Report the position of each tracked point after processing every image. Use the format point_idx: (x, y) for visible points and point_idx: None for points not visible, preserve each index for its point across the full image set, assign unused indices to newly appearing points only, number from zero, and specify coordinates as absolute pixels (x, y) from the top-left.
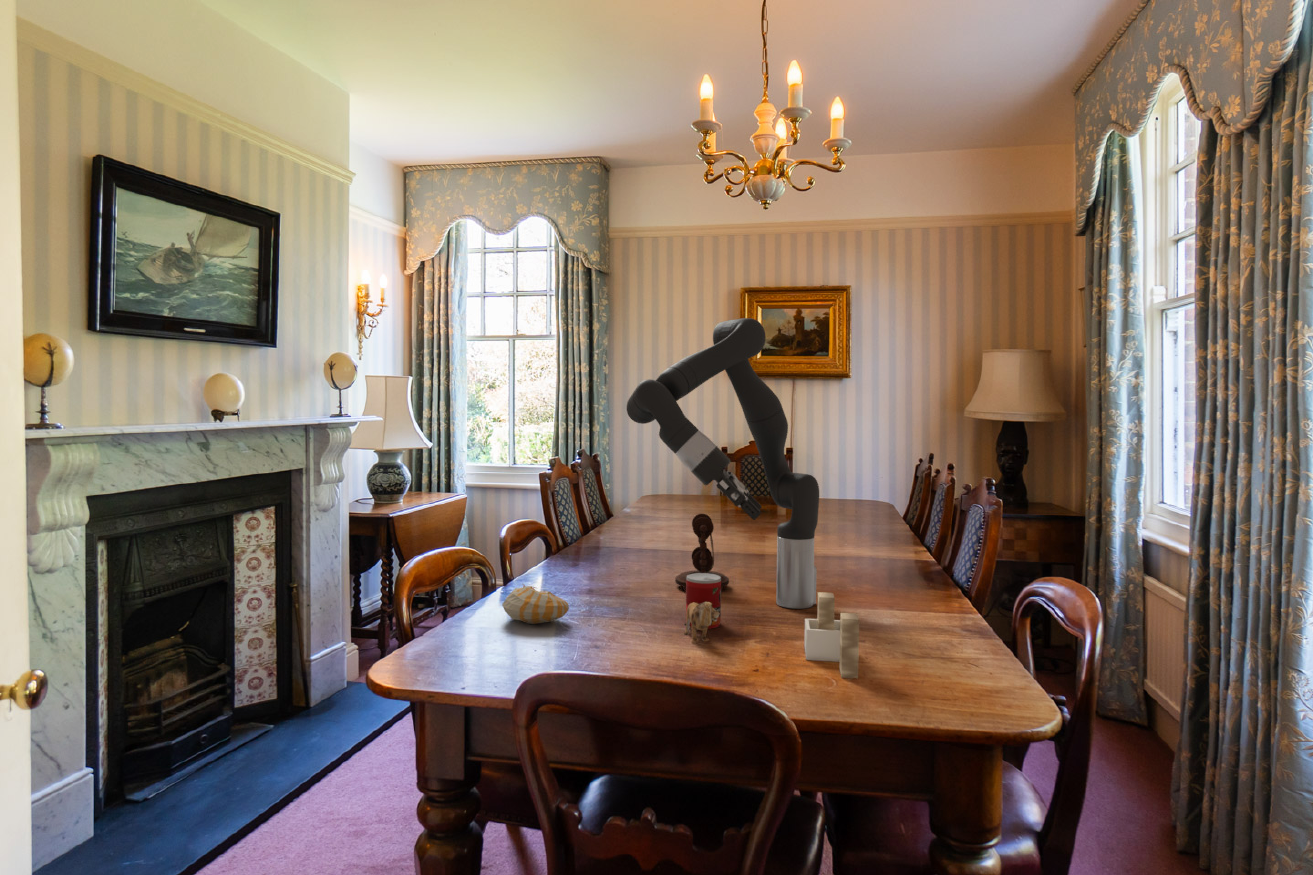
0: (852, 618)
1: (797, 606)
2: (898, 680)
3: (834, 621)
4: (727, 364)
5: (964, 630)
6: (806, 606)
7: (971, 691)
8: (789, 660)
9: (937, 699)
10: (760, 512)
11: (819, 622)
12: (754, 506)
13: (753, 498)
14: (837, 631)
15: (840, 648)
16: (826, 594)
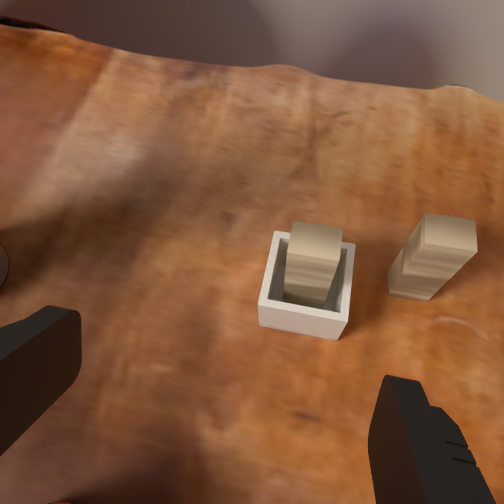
0: (470, 230)
1: (2, 276)
2: None
3: (277, 249)
4: None
5: (190, 78)
6: (6, 258)
7: (448, 149)
8: (342, 375)
9: (491, 196)
10: (419, 383)
11: (329, 286)
12: (437, 437)
13: (3, 358)
14: (353, 262)
15: (416, 279)
16: (311, 238)
